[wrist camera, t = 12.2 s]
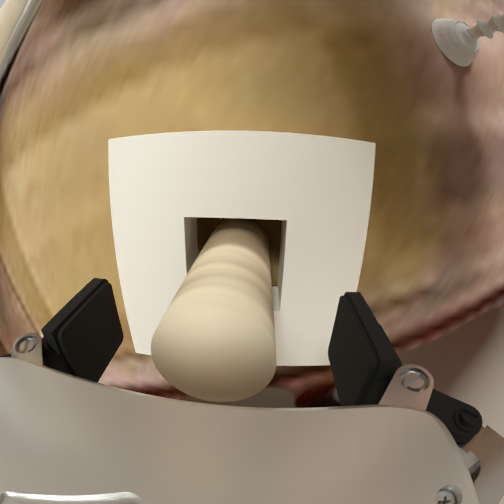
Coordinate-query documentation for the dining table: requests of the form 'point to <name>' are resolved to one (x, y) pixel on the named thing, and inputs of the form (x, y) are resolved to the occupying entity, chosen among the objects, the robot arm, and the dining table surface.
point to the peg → (221, 319)
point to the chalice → (463, 37)
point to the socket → (246, 207)
